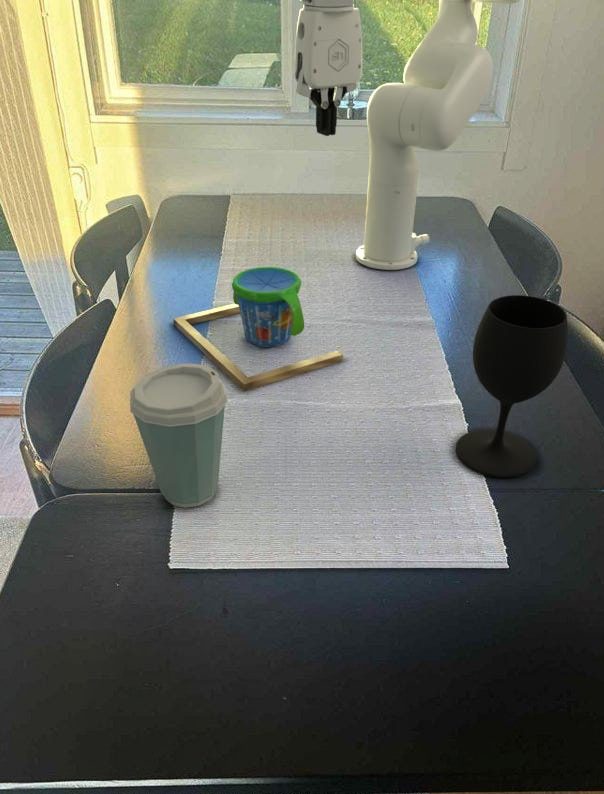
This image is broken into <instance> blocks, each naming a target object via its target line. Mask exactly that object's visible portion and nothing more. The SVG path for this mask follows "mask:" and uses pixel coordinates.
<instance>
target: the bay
mask: <svg viewBox="0 0 604 794" xmlns="http://www.w3.org/2000/svg"><path fill="white" fill-rule="evenodd" d="M235 314H241V313H240V309H239V305H236V304H235V303H231V304H227V305H223V306H219V307H215V308H210V309H206V310H202V311H198V312H194V313H189V314H186V315H182V316H177V317H173V318H172V320H173V321H172V322H173V326H174V327H175V328H177V329H178V330H179V331H180V332H181V333H182V334H183V335H184V336H185V337H186V338H187V339H188V340H189V341H190V342H191V343H193V345H194V346H196V347H197V348H198V349H199V350H200V352H202V353H203V354H204V355H205V356H206V357H208V359H209V360H210V361H211V362H213V364H215V365H216V366H217V367H218V368H219V369H220V370H221V371H222V372H223V373H224V374H226V376H227V377H228V378H229V379H231V380H232V381H233V382H234V383H235V384H236V385H237V386H238V387H239V388H240V389H241V390H242V391H243V392H246V391H250V390H252V389H253V390H254V389H256V388H259V387H263V386H266V385H269V384H273V383H276V382H279V381H282V380H286V379H288V378H292V377H295V376H298V375H302V374H305V373H308V372H312V371H315V370H318V369H322V368H324V367H328V366H331V365H334V364H338V363H341V362H344V361H343V360H344V354H343V353H342V352H340V351H339V350H335V351H331V352H327V353H326V354H321V355H318V356H314V357H311V358H308V359H305V360H301V361H298V362H294V363H292V364H287V365H284V366H281V367H278V368H277V367H276V368H275V369H271V370H267V371H263V372H261V373H257V374H254V375H251V376H247V375H246V374H245V373H244V372H243V371H242V370H241V369H240V368H239V367H238V366H236V365H235V364H234V363H233V362H232V361H231V360H230V359H229V358H228V357H226V356H225V355H224V354H223V353H222V352H221V351H220V350H219V349H218V348H217V347H216V346H215V345H213V343H211V342H210V341H209V340H208V339H207V338H205V336H203V334H201V333H200V332H199V331H198V330H197V329H195V327H194V326H192V325H196V324H200V323H204V322H208V321H212V320H215V319H220V318H223V317H227V316H228V317H229V316H231V315H235Z"/></svg>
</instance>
